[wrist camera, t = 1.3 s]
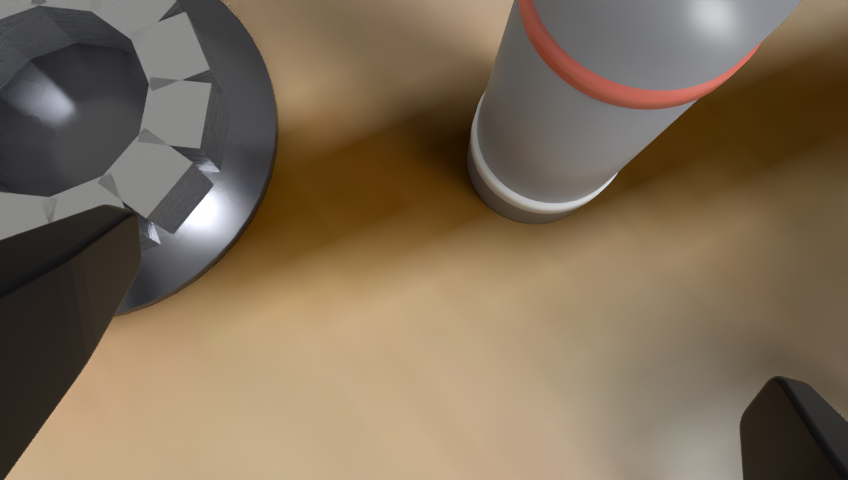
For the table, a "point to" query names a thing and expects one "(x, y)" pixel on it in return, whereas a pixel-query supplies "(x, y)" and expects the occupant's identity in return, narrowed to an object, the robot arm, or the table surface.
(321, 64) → the table surface
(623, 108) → the lens tube
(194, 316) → the table surface
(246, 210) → the collar mount
